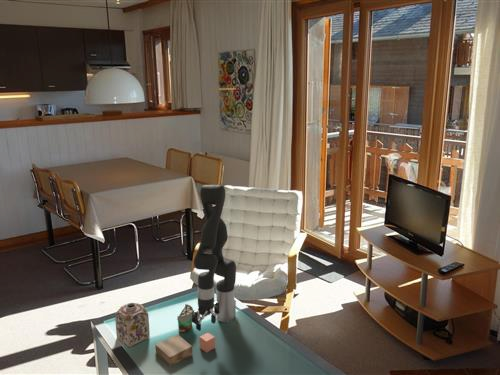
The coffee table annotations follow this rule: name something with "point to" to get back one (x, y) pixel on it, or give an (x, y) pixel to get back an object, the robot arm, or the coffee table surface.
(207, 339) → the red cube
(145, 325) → the decorative jar
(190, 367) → the coffee table surface
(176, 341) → the walnut block
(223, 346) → the coffee table surface
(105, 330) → the coffee table surface
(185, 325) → the food container
